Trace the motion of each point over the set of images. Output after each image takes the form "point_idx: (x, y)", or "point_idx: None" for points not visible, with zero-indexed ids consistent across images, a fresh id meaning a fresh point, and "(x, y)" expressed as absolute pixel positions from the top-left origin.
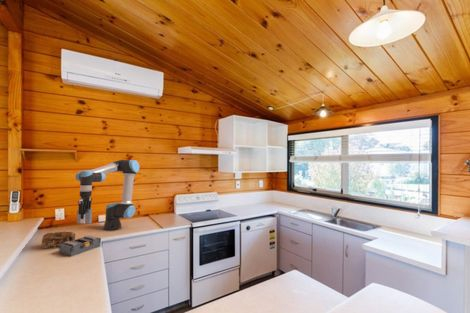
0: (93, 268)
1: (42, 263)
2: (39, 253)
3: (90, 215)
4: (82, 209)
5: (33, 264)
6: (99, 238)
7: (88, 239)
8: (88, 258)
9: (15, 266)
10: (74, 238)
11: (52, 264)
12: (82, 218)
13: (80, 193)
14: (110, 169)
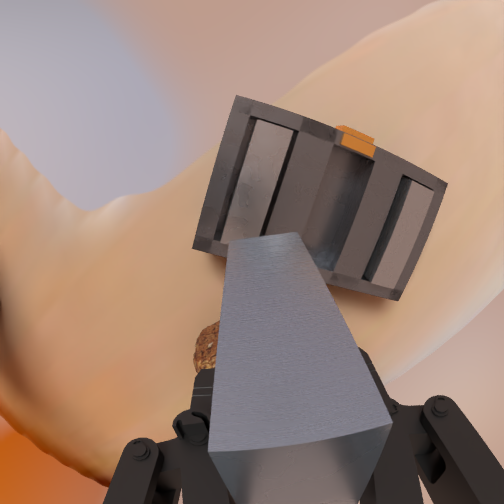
0: (478, 12)
1: (471, 247)
2: (374, 353)
3: (291, 300)
4: (479, 471)
5: (474, 272)
6: (246, 99)
7: (289, 177)
8: (421, 67)
9: (476, 314)
10: (215, 337)
11: (481, 197)
12: (365, 352)
13: None
14: None
